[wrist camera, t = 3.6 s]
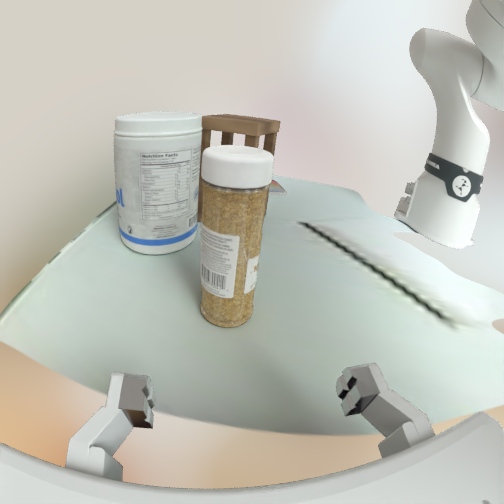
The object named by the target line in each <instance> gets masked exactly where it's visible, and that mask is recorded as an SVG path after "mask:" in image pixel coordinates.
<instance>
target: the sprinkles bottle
mask: <svg viewBox="0 0 504 504" xmlns="http://www.w3.org/2000/svg"><path fill="white" fill-rule="evenodd" d="M273 165H274V156H273V155H272V154H271V153H270V152H268V151H265V150H262V149H259V148H254V147H248V146H240V145H218V146H212V147H208V148H206V149H205V150H204V151H203V155H202V166H201V177H202V178H203V179H204V180H203V181H202V183H203V186H204V188H203V208H202V219H201V282H202V301H201V306H200V308H201V312H202V315H203V316H204V317H205V318H206V319H207V320H208V321H209V322H211V323H213V324H215V325H217V326H221V327H237V326H239V325H242V324H243V323H245V322H246V321H247V320H248V319H249V318H250V317H251V315H252V312H253V296H254V288H255V284H256V279H257V271H258V263H259V256H260V248H261V240H262V225H263V218H264V211H265V204H266V197H267V195H266V193H267V191H268V188H269V184H270V183H271V181H272V175H273Z"/></svg>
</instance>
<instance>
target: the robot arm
mask: <svg viewBox="0 0 504 504" xmlns="http://www.w3.org/2000/svg"><path fill="white" fill-rule="evenodd" d="M466 26H467V29H468V32H469V34H470V36H471V38H472V39H473V41H474V43H475V44H476V45H475V44H473V43H471V42H468V41H466V40H464V39H462V38H459V37H457V36H455V35H452V34H450V33H447V32H444V31H439V30H434V29H427V28H423V29H420V30H419V31H417V32H416V33H415V34H414V36H413V37H412V39H411V42H410V57H411V60H412V62H413V64H414V66H415V68H416V69H417V71H418V72H419V73H420V74H421V75H422V76H423V78H424V79H425V80H426V82H427V83H428V85H429V87H430V89H431V90H432V93H433V96H434V99H435V102H436V106H437V126H436V133H435V134H436V135H435V139H434V144H433V149H432V153H430V154H429V156H428V158H427V160H426V165H425V171H424V173H423V174H422V175H421V176H420V177H419V178H418V179H417V181H416V182H415V183H412V182H411V184H410V183H407V186H406V190H405V193H407V194H411V197H407V198H404V197H402V198H401V200H400V202H399V205H398V207H397V210H396V212H395V215H394V216H395V217H396V218H397V219H399V220H401V221H403V222H404V223H406V224H408V225H409V226H410V227H411V228H413V229H414V230H415V231H417V232H418V233H420V234H421V235H423V236H425V237H427V238H428V239H430V240H432V241H434V242H437V243H439V244H441V245H444V246H447V247H450V248H454V249H463V248H465V247H466V246H473V243H474V241H473V239H472V238H471V235H472V232H473V229H474V226H475V223H476V219H477V215H478V212H479V208H480V206H479V203H478V201H477V194H479V192H480V189H481V187H482V182H483V176H482V174H483V170H484V167H485V162H486V159H487V154H488V150H489V145H490V136H489V132H488V130H487V128H486V126H485V125H484V123H483V122H482V121H481V120H480V119H479V118H478V116H477V115H476V113H475V111H474V109H473V107H472V104H471V97H473V98H475V99H477V100H479V101H481V102H483V103H485V104H487V105H489V106H490V107H493V108H494V109H496V110H500V111H503V112H504V0H472V3H471V5H470V7H469V10H468V12H467V15H466ZM342 373H343V375H342V376H341V377H339V378H338V380H337V382H336V391H337V395H338V397H340V398H341V399H342V403H341V406H342V409H343V412H344V415H345V416H349V415H354V414H359V413H361V415H362V416H364V417H365V418H366V419H367V420H368V421H369V422H370V423H371V424H372V425H373V426H374V427H375V428H376V429H377V430H378V431H379V432H380V433H382V434H383V435H384V436H385V437H386V438H385V439H384V440H383V441H382V442H380V443H379V445H378V447H379V450H380V453H381V456H382V459H379V460H377V461H374V462H370V463H367V464H365V465H361V466H358V467H355V468H351V469H348V470H344V471H341V472H337V473H333V474H329V475H325V476H320V477H316V478H311V479H306V480H301V481H295V482H289V483H282V484H276V485H267V486H258V487H247V488H230V489H186V488H185V489H184V488H170V487H169V488H168V487H158V486H149V485H141V484H134V483H128V482H122V470H123V466H122V465H121V464H120V463H119V462H118V461H116V460H115V459H114V458H113V457H112V456H113V455H114V453H115V452H116V451H117V449H118V448H119V447H120V445H121V444H122V443H123V441H124V440H125V439H126V437H127V436H128V435H129V433H130V432H131V430H132V429H133V427H139V428H153V416H154V415H153V412H152V410H151V409H152V408H153V406H154V402H155V394H154V388H153V385H151V379H150V376H146V375H134V374H126V373H116V372H113V374H112V376H111V380H110V385H109V390H108V395H107V401H106V406H105V407H103V406H102V407H101V408H100V409H99V410H98V411H97V412H96V413H95V414H94V415H93V416H92V417H91V418H90V419H89V420H88V421H87V422H86V423H85V424H84V425H83V427H82V428H80V429H79V430H78V432H77V433H76V434H75V435H74V436H73V437H72V438H71V439H70V440H69V446H68V452H67V459H66V465H65V468H64V467H61V466H58V465H55V464H52V463H49V462H46V461H44V460H41V459H38V458H36V457H33V456H31V455H28V454H26V453H24V452H21V451H19V450H17V449H14V448H12V447H10V446H8V445H6V444H4V443H0V504H504V430H503V428H502V426H501V424H500V423H499V422H498V421H497V420H496V419H495V418H493V417H492V416H490V415H488V414H487V413H485V412H483V411H479V412H476V413H475V414H473V415H471V416H470V417H468V418H467V419H465V420H463V421H462V422H460V423H458V424H456V425H454V426H453V427H451V428H449V429H447V430H445V431H444V432H441V433H440V434H438V435H436V436H435V433H434V431H433V429H432V427H431V424H430V422H429V420H428V418H427V416H426V414H425V413H423V412H422V411H420V410H419V409H418V408H416V407H415V406H413V405H412V404H411V403H409V402H408V401H406V400H405V399H404V398H402V397H401V396H399V395H398V394H397V393H395V392H394V391H393V390H391V391H390V390H389V388H388V386H387V384H386V382H385V379H384V377H383V375H382V373H381V371H380V369H379V367H378V365H377V364H376V363H370V364H364V365H359V366H354V367H348V368H345V369H344V370H343V372H342Z"/></svg>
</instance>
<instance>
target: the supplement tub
mask: <svg viewBox="0 0 504 504" xmlns="http://www.w3.org/2000/svg"><path fill="white" fill-rule="evenodd" d="M201 130H202V116H201V115H200V114H196V113H187V112H145V113H135V114H128V115H122V116H119V117H117V118H116V120H115V130H114V133H115V134H114V164H115V182H116V197H117V208H118V218H119V228H120V235H121V239H122V241H123V242H124V244H125V245H126V246H127V247H129V248H130V249H132V250H134V251H136V252H139V253H143V254H150V255H160V254H168V253H172V252H175V251H178V250H181V249H183V248H185V247H186V246H188V245H189V244H190V243H191V242H192V241H193V240H194V238H195V236H196V233H197V213H198V191H199V172H200V156H201V141H202V131H201Z"/></svg>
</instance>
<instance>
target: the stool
mask: <svg viewBox="0 0 504 504" xmlns="http://www.w3.org/2000/svg"><path fill="white" fill-rule="evenodd" d="M279 128H280V121H276V120H269V119H263V118H255V117H247V116H239V115H229V114H223V115H209V116H202V130H201V131H202V141H201V156H200V172H199V191H198V213H197V221H199V222H201V219H202V208H203V188H204V186H203V183H202V181H203V180H204V179H203V178H202V177H201V166H202V155H203V151H204V150H205V149H206V148H208V147H210V137H211V130H215V131H222V142H221V145H233V134H234V133H238V134H245V135H246V137H245V146H248V147H254V148H258V145H259V144H258V143H259V136H261V135H265V141H264V148H263V150H265V151H268V152H270V153H271V154H272V155H273V156H274V151H275V143H276V136H277V132H279ZM269 187H270V184H269ZM268 194H269V188H268V191H267V193H266V195H267V197H266V204H265V211H264V216H265V215H266V209H267V202H268Z"/></svg>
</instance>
